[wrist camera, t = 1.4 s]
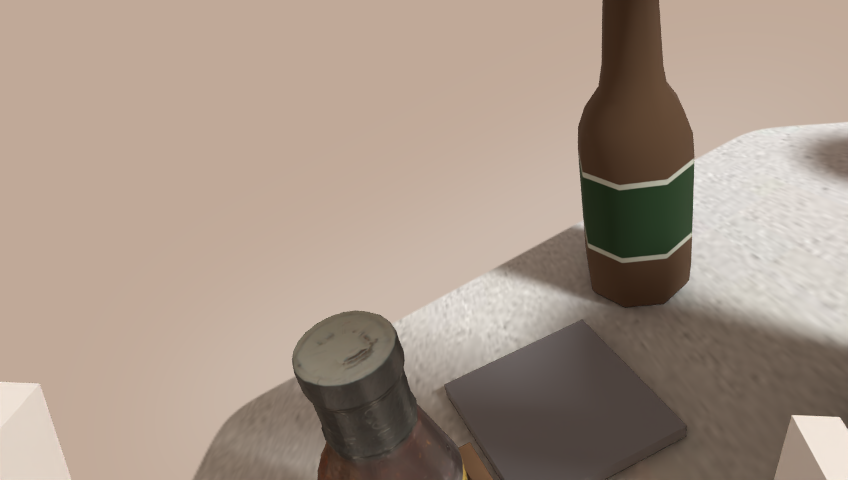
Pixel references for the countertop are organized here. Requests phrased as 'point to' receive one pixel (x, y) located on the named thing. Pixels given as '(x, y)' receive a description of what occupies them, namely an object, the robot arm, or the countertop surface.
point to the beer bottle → (636, 165)
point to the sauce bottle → (369, 404)
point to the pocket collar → (473, 464)
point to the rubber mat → (563, 410)
